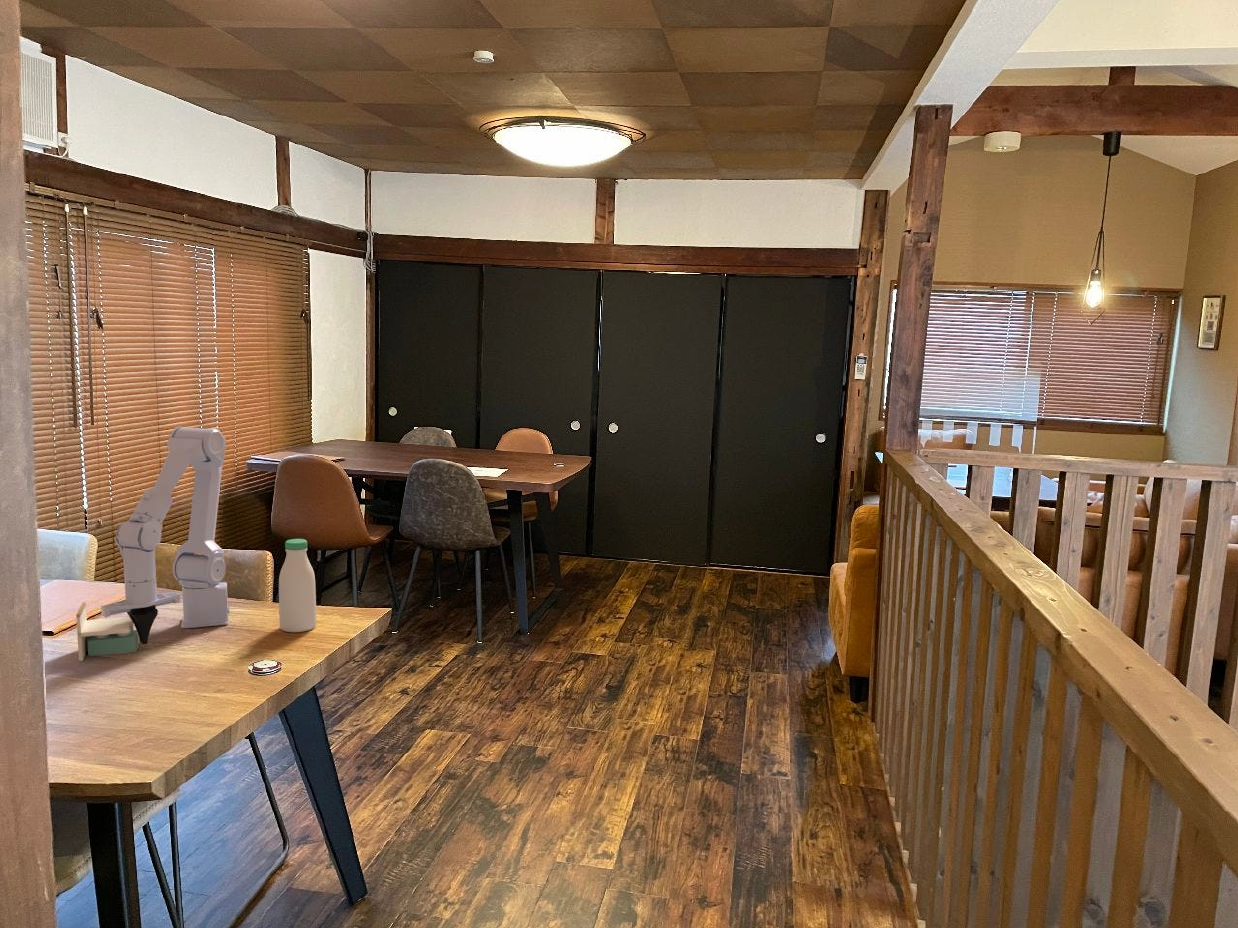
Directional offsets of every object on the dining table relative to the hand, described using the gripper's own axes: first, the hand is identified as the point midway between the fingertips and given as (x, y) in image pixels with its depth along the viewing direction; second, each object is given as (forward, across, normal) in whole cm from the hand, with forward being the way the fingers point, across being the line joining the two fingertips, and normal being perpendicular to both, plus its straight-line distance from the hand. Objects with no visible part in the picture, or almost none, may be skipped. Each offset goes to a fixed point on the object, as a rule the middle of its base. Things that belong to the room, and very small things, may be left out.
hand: (143, 642), depth 186 cm
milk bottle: (+2, -30, +8) cm, 31 cm away
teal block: (+2, +4, -4) cm, 6 cm away
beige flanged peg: (+1, +6, -3) cm, 7 cm away
